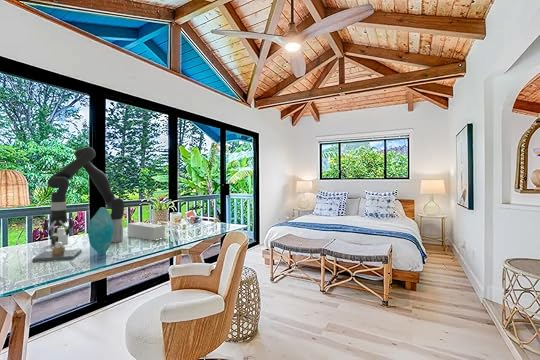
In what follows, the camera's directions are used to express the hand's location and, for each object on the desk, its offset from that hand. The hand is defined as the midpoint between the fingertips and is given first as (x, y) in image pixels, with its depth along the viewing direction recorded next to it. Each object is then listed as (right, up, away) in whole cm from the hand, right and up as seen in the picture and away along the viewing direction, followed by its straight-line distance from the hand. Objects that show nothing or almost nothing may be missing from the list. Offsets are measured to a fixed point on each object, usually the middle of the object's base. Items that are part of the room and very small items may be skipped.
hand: (59, 235), depth 172 cm
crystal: (+22, -14, +7) cm, 26 cm away
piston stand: (-1, -13, 0) cm, 13 cm away
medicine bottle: (-23, -13, +31) cm, 40 cm away
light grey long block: (+28, -13, +57) cm, 65 cm away
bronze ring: (0, -11, 0) cm, 11 cm away
